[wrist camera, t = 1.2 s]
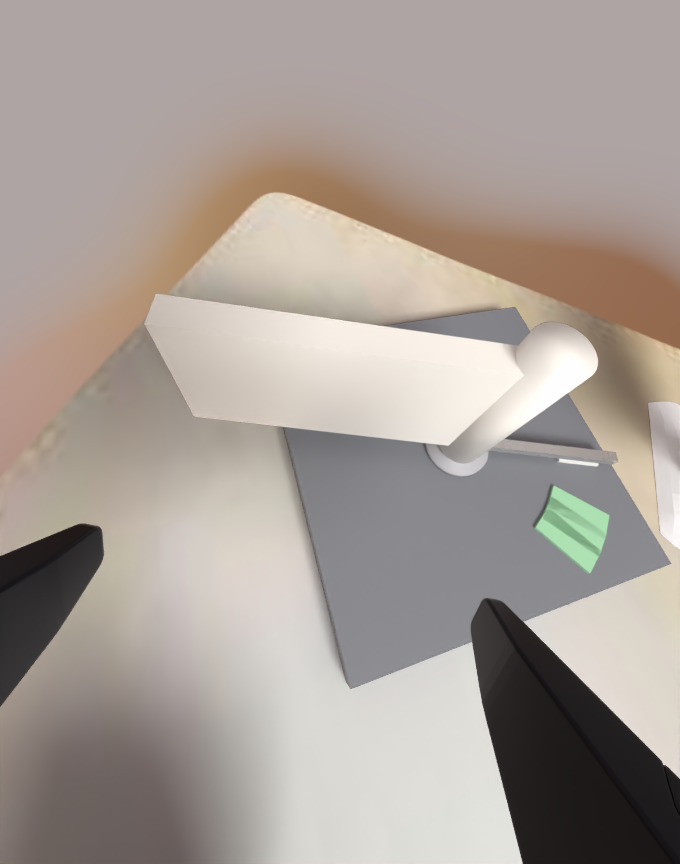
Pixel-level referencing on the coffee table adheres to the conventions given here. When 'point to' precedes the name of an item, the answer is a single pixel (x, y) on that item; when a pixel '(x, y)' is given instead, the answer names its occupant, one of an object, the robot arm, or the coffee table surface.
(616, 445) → the coffee table surface
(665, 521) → the heart sculpture
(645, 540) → the grey flat panel
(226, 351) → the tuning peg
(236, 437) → the coffee table surface
